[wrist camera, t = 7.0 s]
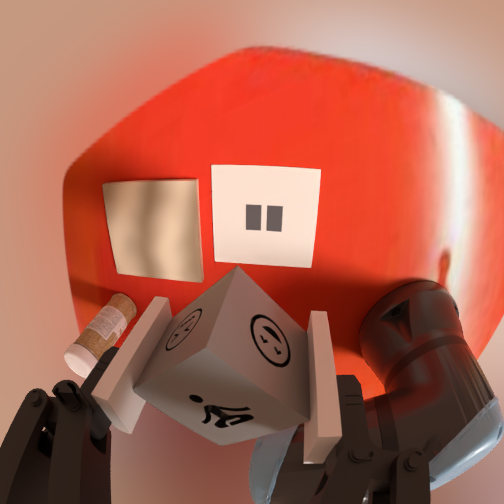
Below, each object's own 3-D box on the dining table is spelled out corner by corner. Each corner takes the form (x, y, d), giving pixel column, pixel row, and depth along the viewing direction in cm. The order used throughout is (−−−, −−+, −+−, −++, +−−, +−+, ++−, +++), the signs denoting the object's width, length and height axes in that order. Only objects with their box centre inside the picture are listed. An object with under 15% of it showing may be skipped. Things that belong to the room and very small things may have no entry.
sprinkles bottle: (131, 321, 38) (89, 385, 26) (108, 303, 37) (61, 362, 25) (142, 305, 36) (95, 372, 24) (117, 285, 35) (64, 347, 23)
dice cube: (238, 372, 15) (220, 445, 10) (171, 318, 14) (131, 390, 9) (308, 334, 13) (310, 420, 8) (237, 265, 12) (206, 347, 7)
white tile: (320, 169, 25) (320, 169, 25) (310, 267, 30) (311, 268, 30) (211, 164, 27) (211, 164, 26) (214, 260, 31) (214, 261, 31)
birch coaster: (198, 178, 27) (195, 180, 26) (204, 278, 33) (201, 282, 32) (106, 182, 29) (102, 184, 28) (121, 269, 34) (117, 273, 33)
